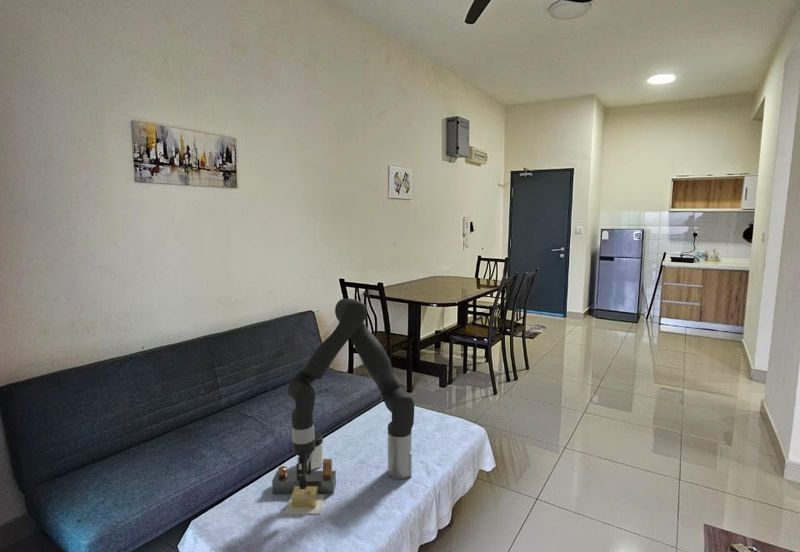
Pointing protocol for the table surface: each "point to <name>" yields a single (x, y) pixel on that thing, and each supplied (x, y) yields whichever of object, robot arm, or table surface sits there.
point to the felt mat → (306, 510)
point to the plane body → (323, 479)
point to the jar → (317, 452)
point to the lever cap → (305, 497)
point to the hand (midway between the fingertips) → (305, 480)
